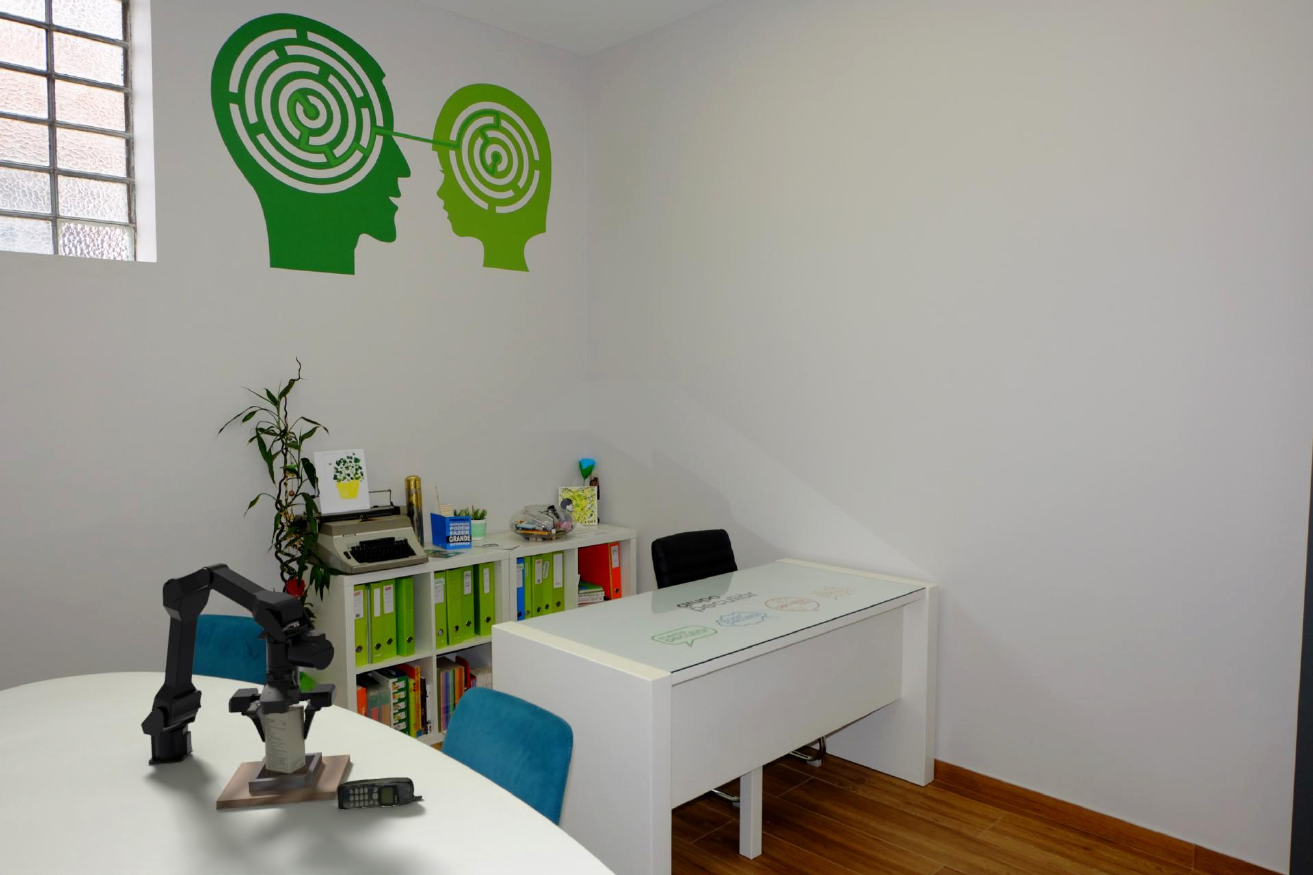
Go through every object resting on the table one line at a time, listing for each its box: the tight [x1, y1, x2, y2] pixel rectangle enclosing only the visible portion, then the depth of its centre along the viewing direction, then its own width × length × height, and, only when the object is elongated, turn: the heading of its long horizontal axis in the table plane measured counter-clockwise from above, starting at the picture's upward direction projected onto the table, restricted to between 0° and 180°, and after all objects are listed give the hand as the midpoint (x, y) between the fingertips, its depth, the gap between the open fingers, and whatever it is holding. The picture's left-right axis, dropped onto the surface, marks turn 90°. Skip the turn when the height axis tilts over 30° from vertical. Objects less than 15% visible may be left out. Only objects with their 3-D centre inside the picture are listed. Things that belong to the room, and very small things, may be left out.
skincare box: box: [264, 703, 306, 774], centre depth 168 cm, size 6×4×12 cm
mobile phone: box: [337, 776, 423, 810], centre depth 161 cm, size 5×3×15 cm
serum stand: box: [215, 751, 351, 810], centre depth 169 cm, size 21×16×4 cm
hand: (285, 740), depth 168 cm, fingers closed on skincare box, 7 cm apart
